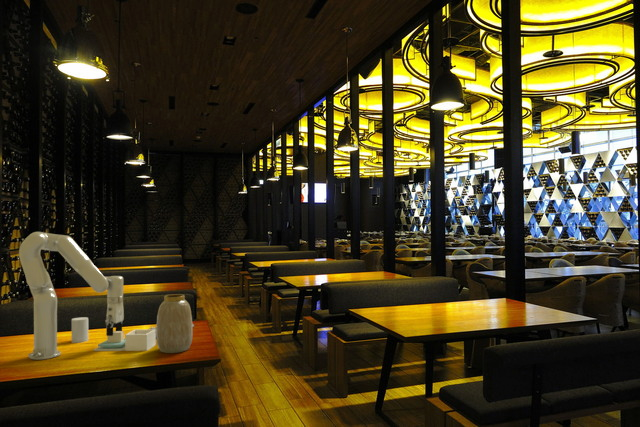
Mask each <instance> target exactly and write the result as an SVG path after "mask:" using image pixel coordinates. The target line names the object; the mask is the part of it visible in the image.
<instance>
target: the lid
mask: <svg viewBox="0 0 640 427" xmlns="http://www.w3.org/2000/svg"><path fill="white" fill-rule="evenodd" d="M106 339H107V340H105V341H102V342H101V343H98V345H97V348H98V347H103V348H121V347H123V346H124V345H125V334H124V331H123V330H122V331H116V330H115V331H114V330H113V336H107V335H106Z"/></svg>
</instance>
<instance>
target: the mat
mask: <svg viewBox="0 0 640 427" xmlns="http://www.w3.org/2000/svg"><path fill="white" fill-rule="evenodd" d="M93 351H94V352H103V351H104V352H120V351H122V352H123V351H125V345H124V346H123V347H121V348H103V347H98V346H97V347H96V348H94V349H93Z"/></svg>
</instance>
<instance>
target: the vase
mask: <svg viewBox="0 0 640 427" xmlns="http://www.w3.org/2000/svg"><path fill="white" fill-rule="evenodd" d="M163 298H164V300H163V301H162V302H161V303H160V305H159V308H158V311H157V316H156V327H157V330H156V335H157V339H156V345H157V347H158V349H159V351H160V352H161V353H164V354H176V353H182V352H186V351H187V350H189V349H190V347H191V344H192V342H193V327H192V324H193V315H192V310H191V306H190V303H189V302H188V301H187V300H186V299H185V298H186V297H185V294H181V293H178V294H177V293H175V294H174V293H173V294H166V295H164V297H163Z"/></svg>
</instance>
